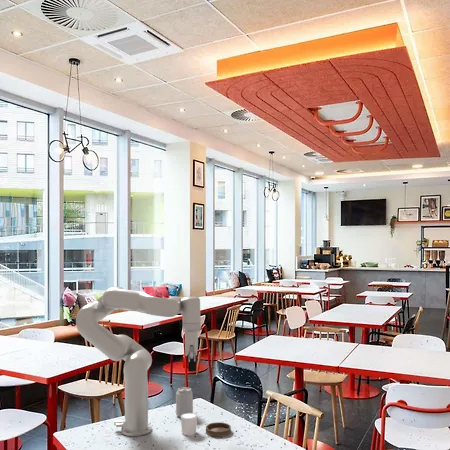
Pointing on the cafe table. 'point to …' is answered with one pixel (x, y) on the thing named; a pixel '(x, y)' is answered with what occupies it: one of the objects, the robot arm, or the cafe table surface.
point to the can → (184, 401)
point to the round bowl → (218, 429)
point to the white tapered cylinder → (189, 423)
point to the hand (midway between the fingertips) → (192, 368)
